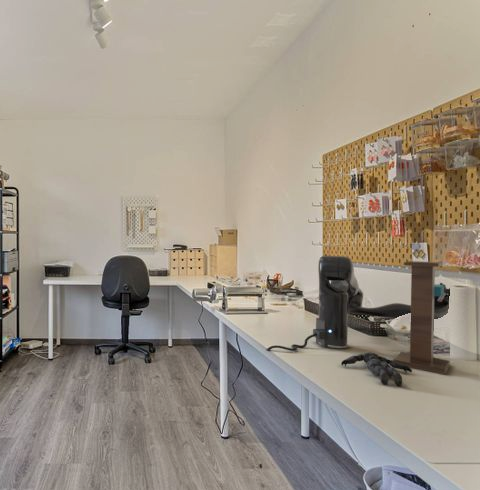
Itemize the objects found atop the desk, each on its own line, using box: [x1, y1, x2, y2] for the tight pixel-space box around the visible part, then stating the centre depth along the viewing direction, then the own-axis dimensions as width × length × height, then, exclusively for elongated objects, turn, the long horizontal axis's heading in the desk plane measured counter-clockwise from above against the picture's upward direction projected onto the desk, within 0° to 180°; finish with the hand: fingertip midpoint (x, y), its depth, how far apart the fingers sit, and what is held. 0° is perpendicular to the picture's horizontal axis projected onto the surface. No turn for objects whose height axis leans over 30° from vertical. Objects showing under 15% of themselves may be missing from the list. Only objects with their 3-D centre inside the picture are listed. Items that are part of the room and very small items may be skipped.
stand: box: [393, 260, 451, 375], centre depth 113 cm, size 12×12×32 cm
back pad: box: [434, 283, 445, 297], centre depth 124 cm, size 19×7×3 cm, turn 132°
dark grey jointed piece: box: [341, 351, 413, 387], centre depth 106 cm, size 18×4×20 cm
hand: (431, 284), depth 127 cm, fingers closed on back pad, 4 cm apart
